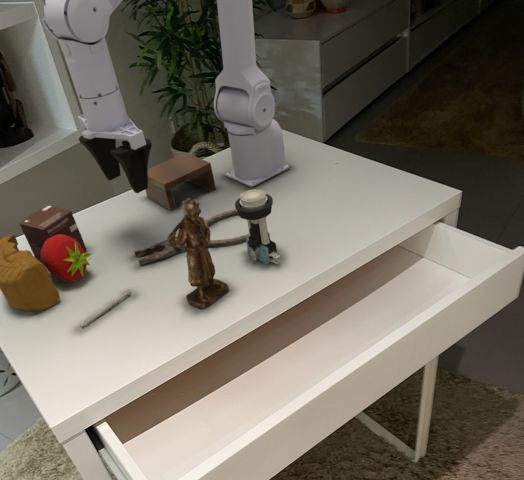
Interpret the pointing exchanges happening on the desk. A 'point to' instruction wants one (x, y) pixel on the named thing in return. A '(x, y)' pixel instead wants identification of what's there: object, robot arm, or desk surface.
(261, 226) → the push button
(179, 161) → the brown wooden bridge block
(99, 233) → the desk surface
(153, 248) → the pliers
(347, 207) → the desk surface
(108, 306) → the wall anchor
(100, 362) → the desk surface
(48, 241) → the strawberry
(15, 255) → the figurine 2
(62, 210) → the box
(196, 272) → the figurine
